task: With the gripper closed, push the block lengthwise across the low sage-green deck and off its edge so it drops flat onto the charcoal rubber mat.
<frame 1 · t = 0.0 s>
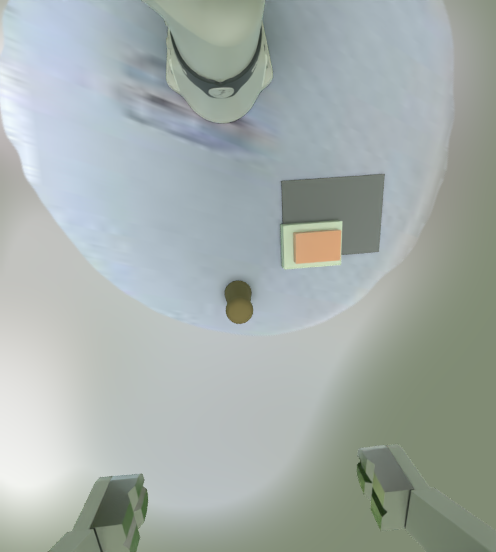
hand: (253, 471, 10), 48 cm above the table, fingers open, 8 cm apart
block: (315, 245, 54), point 3 cm above the table, touching deck
deck: (308, 243, 57), resting on mat
mat: (332, 218, 55), on the table
cork: (238, 293, 59), on the table
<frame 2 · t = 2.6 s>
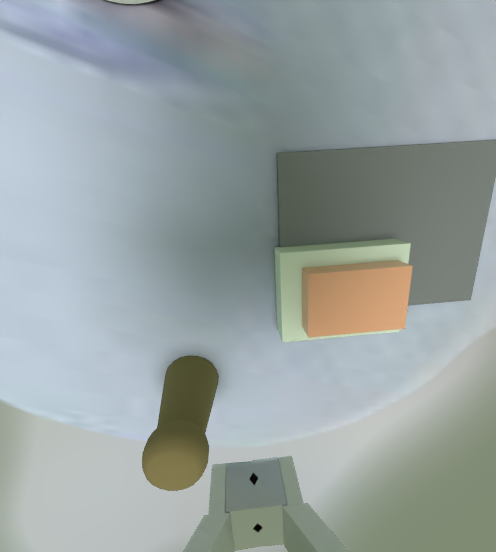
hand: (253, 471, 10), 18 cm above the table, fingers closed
block: (349, 294, 25), point 3 cm above the table, touching deck
deck: (332, 284, 28), resting on mat
mat: (382, 233, 27), on the table
cork: (192, 377, 30), on the table
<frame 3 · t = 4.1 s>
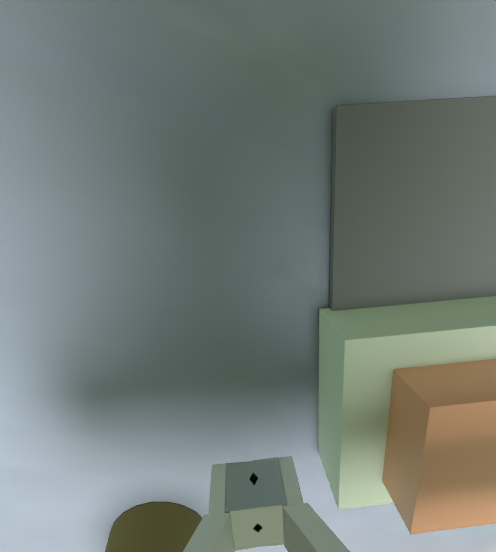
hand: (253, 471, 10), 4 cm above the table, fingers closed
block: (488, 418, 11), point 3 cm above the table, touching deck
deck: (427, 375, 14), resting on mat
cork: (160, 533, 17), on the table
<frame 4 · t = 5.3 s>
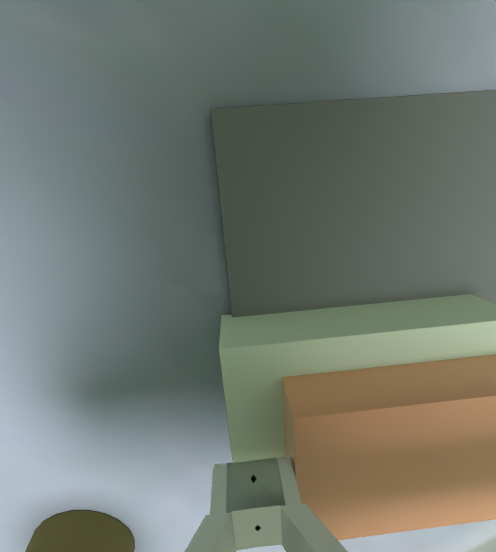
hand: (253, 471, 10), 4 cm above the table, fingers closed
block: (389, 425, 11), point 3 cm above the table, touching gripper
deck: (342, 380, 14), resting on mat
mat: (445, 283, 13), on the table
cork: (86, 540, 16), on the table
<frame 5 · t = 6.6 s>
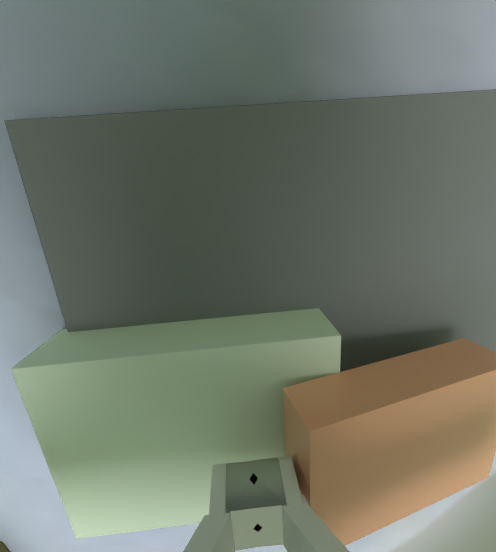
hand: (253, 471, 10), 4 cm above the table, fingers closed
block: (377, 418, 12), point 3 cm above the table, tilted 13°, touching gripper
deck: (203, 395, 14), resting on mat
mat: (295, 296, 13), on the table
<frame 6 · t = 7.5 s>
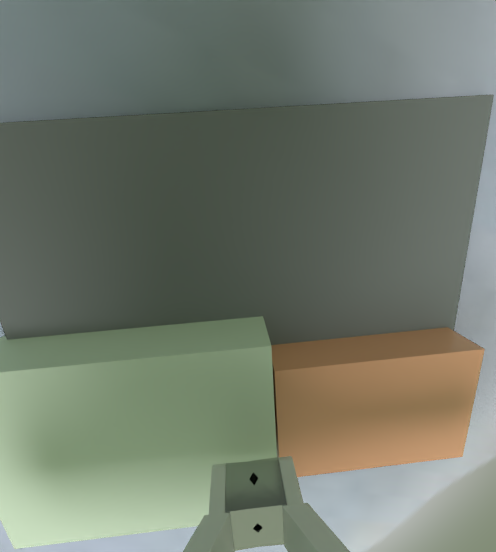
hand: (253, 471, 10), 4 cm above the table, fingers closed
block: (356, 387, 14), resting on mat
deck: (151, 402, 14), resting on mat
mat: (240, 304, 12), on the table
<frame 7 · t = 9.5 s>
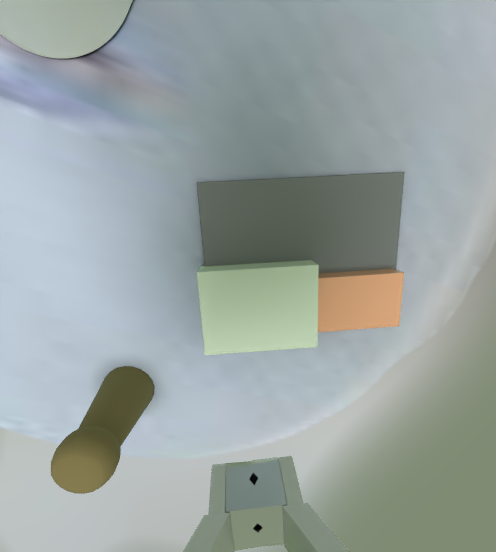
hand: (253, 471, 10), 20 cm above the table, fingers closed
block: (351, 296, 30), resting on mat
deck: (257, 301, 30), resting on mat
mat: (301, 255, 29), on the table
cork: (129, 387, 32), on the table
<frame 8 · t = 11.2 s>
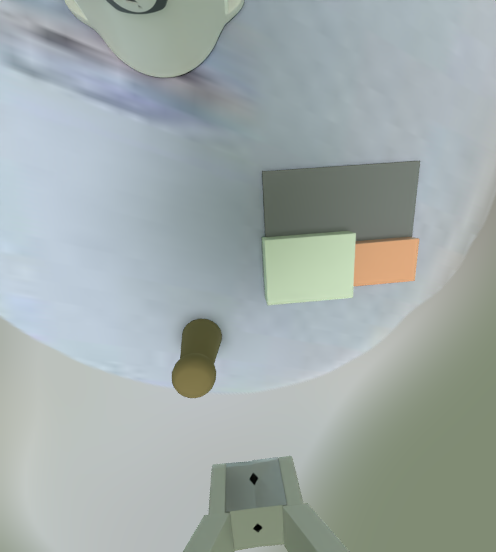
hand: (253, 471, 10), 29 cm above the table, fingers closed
block: (377, 259, 38), resting on mat
deck: (304, 264, 38), resting on mat
mat: (339, 227, 37), on the table
cork: (202, 336, 41), on the table
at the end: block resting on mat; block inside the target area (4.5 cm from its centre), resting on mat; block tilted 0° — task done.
